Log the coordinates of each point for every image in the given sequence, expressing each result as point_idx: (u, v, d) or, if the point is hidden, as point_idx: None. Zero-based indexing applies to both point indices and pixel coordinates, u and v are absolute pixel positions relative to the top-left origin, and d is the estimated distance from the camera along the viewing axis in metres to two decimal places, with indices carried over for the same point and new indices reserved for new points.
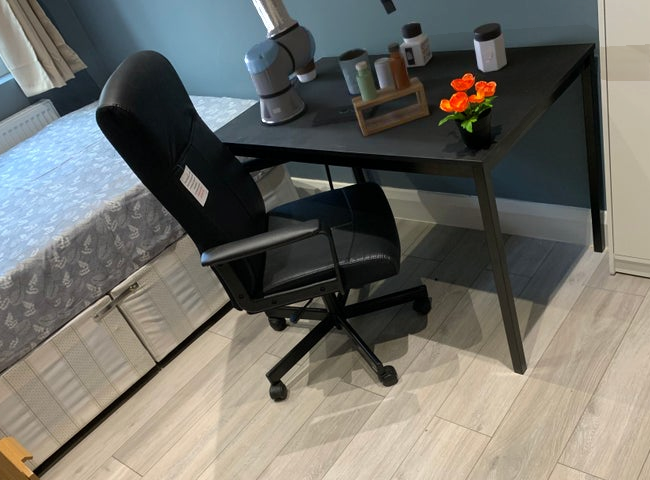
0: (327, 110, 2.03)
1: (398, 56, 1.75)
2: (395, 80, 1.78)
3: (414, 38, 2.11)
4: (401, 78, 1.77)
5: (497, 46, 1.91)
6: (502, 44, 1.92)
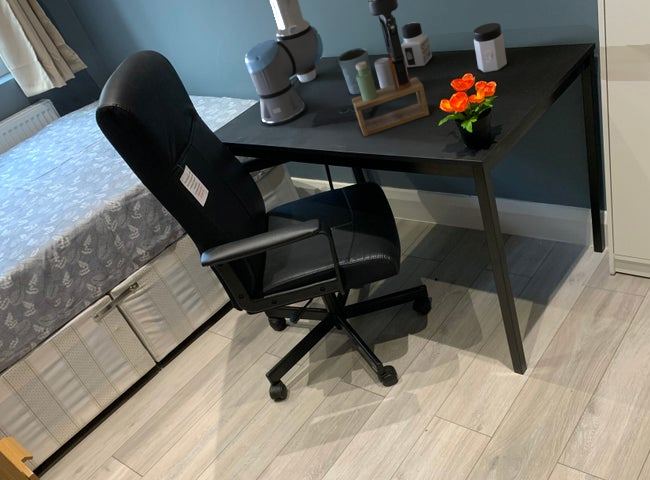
0: (327, 110, 2.03)
1: None
2: (395, 80, 1.78)
3: (414, 38, 2.11)
4: None
5: (497, 46, 1.91)
6: (502, 44, 1.92)
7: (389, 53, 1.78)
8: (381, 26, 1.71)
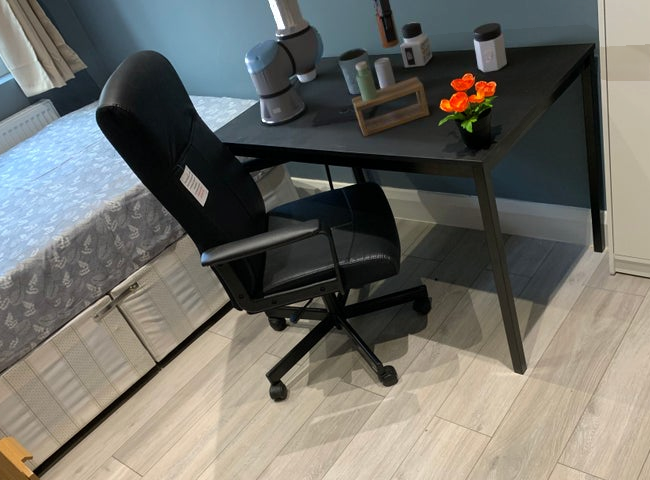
0: (327, 110, 2.03)
1: None
2: (383, 37, 1.70)
3: (414, 38, 2.11)
4: None
5: (497, 46, 1.91)
6: (502, 44, 1.92)
7: (376, 9, 1.69)
8: None
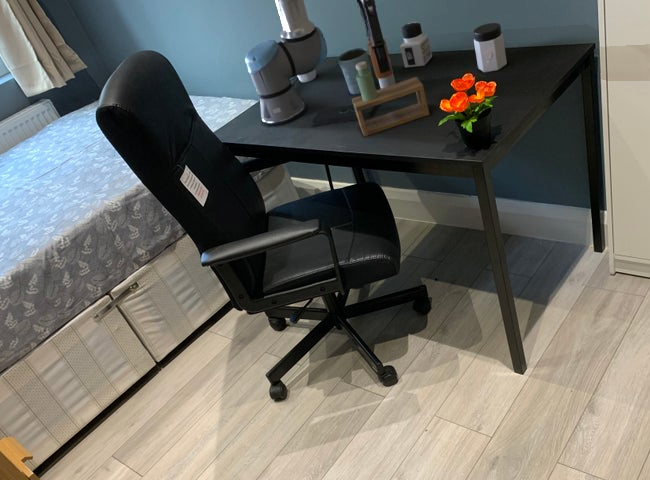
0: (327, 110, 2.03)
1: None
2: (376, 68, 1.62)
3: (414, 38, 2.11)
4: None
5: (497, 46, 1.91)
6: (502, 44, 1.92)
7: None
8: (359, 8, 1.55)
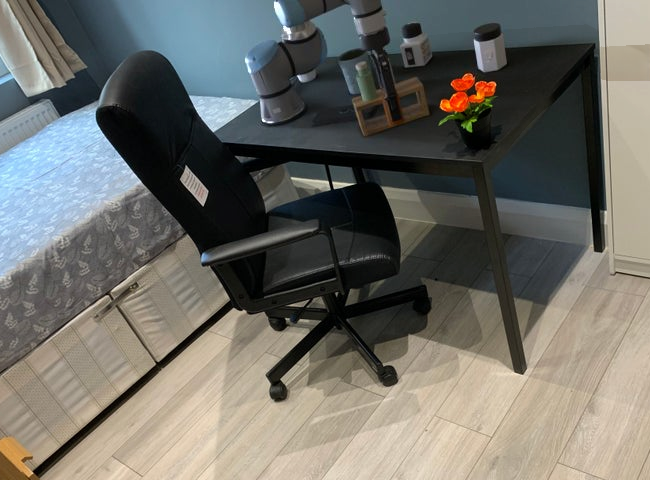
0: (327, 110, 2.03)
1: None
2: (388, 116, 1.70)
3: (414, 38, 2.11)
4: None
5: (497, 46, 1.91)
6: (502, 44, 1.92)
7: (381, 88, 1.70)
8: (373, 61, 1.63)
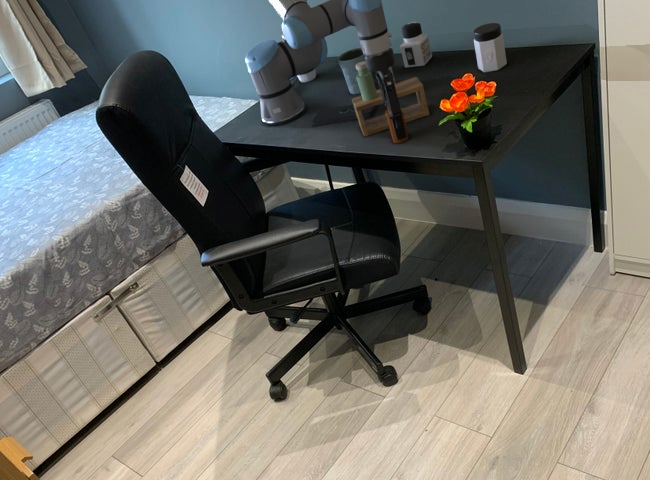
0: (327, 110, 2.03)
1: None
2: (392, 133, 1.73)
3: (414, 38, 2.11)
4: None
5: (497, 46, 1.91)
6: (502, 44, 1.92)
7: None
8: (378, 81, 1.66)
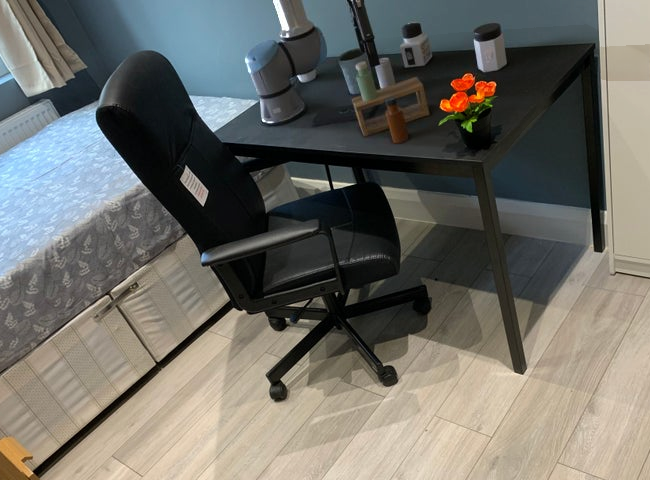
0: (327, 110, 2.03)
1: (396, 110, 1.69)
2: (392, 133, 1.73)
3: (414, 38, 2.11)
4: (399, 132, 1.72)
5: (497, 46, 1.91)
6: (502, 44, 1.92)
7: (354, 25, 1.67)
8: (348, 6, 1.59)
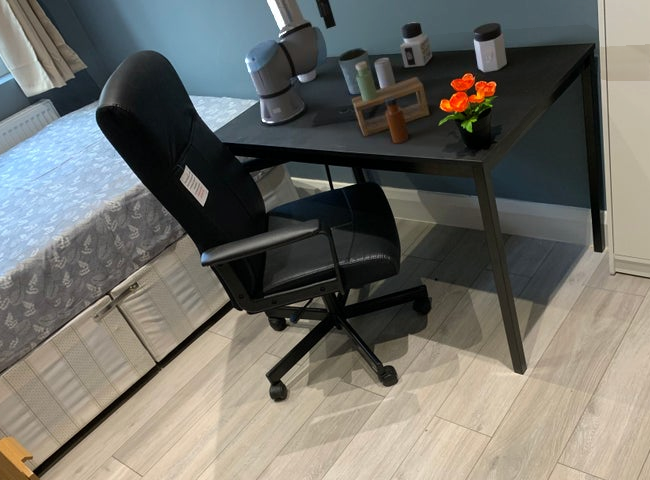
0: (327, 110, 2.03)
1: (396, 110, 1.69)
2: (392, 133, 1.73)
3: (414, 38, 2.11)
4: (399, 132, 1.72)
5: (497, 46, 1.91)
6: (502, 44, 1.92)
7: None
8: None
